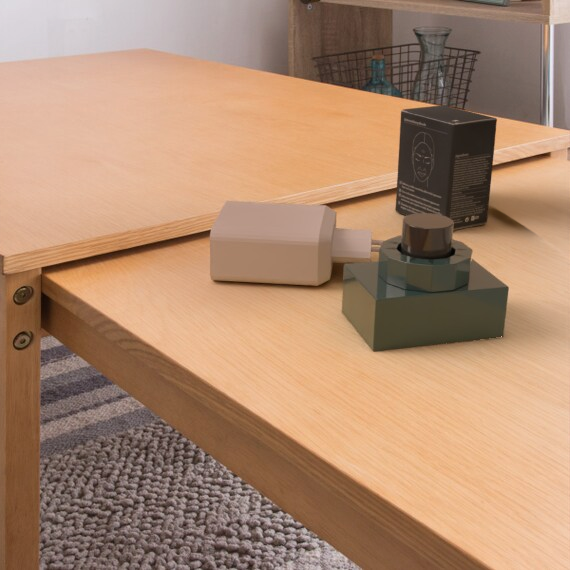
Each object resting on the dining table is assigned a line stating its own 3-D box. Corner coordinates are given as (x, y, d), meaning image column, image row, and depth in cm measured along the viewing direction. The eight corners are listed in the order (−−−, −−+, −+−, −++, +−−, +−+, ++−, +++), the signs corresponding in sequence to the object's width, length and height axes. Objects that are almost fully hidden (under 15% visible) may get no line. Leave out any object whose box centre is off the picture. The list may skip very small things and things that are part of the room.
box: (488, 224, 91) (499, 117, 87) (444, 233, 88) (453, 123, 84) (435, 203, 97) (443, 102, 93) (393, 211, 94) (399, 108, 90)
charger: (395, 295, 74) (209, 285, 75) (395, 255, 82) (228, 247, 84) (398, 239, 72) (208, 229, 74) (398, 204, 81) (228, 196, 82)
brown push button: (438, 244, 69) (441, 211, 68) (459, 260, 65) (462, 226, 64) (393, 247, 68) (395, 214, 67) (411, 265, 65) (414, 230, 64)
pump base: (461, 300, 73) (468, 228, 71) (503, 338, 67) (512, 260, 65) (341, 312, 71) (344, 238, 68) (373, 352, 64) (377, 272, 62)
